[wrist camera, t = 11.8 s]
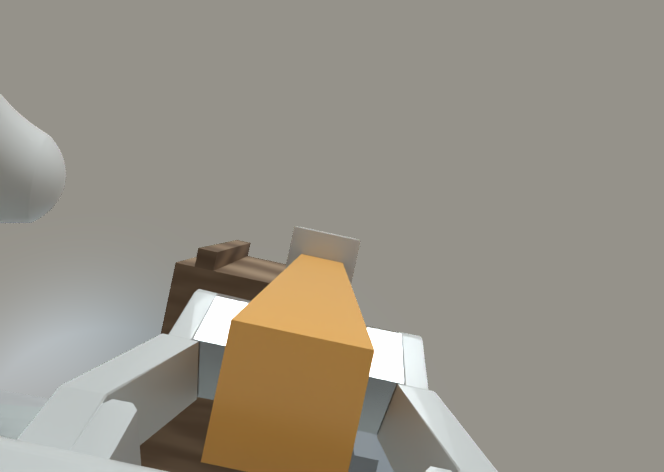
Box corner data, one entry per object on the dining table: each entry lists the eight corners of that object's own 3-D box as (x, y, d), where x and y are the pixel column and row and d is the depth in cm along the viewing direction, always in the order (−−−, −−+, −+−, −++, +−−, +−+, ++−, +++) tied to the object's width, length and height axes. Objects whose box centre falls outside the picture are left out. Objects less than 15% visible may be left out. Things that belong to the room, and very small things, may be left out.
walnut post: (245, 654, 35) (329, 276, 34) (100, 624, 34) (179, 243, 33) (269, 529, 49) (329, 260, 47) (166, 508, 48) (223, 237, 47)
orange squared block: (386, 501, 7) (436, 273, 7) (157, 452, 7) (206, 224, 7) (343, 295, 29) (356, 238, 29) (287, 283, 29) (299, 226, 29)
